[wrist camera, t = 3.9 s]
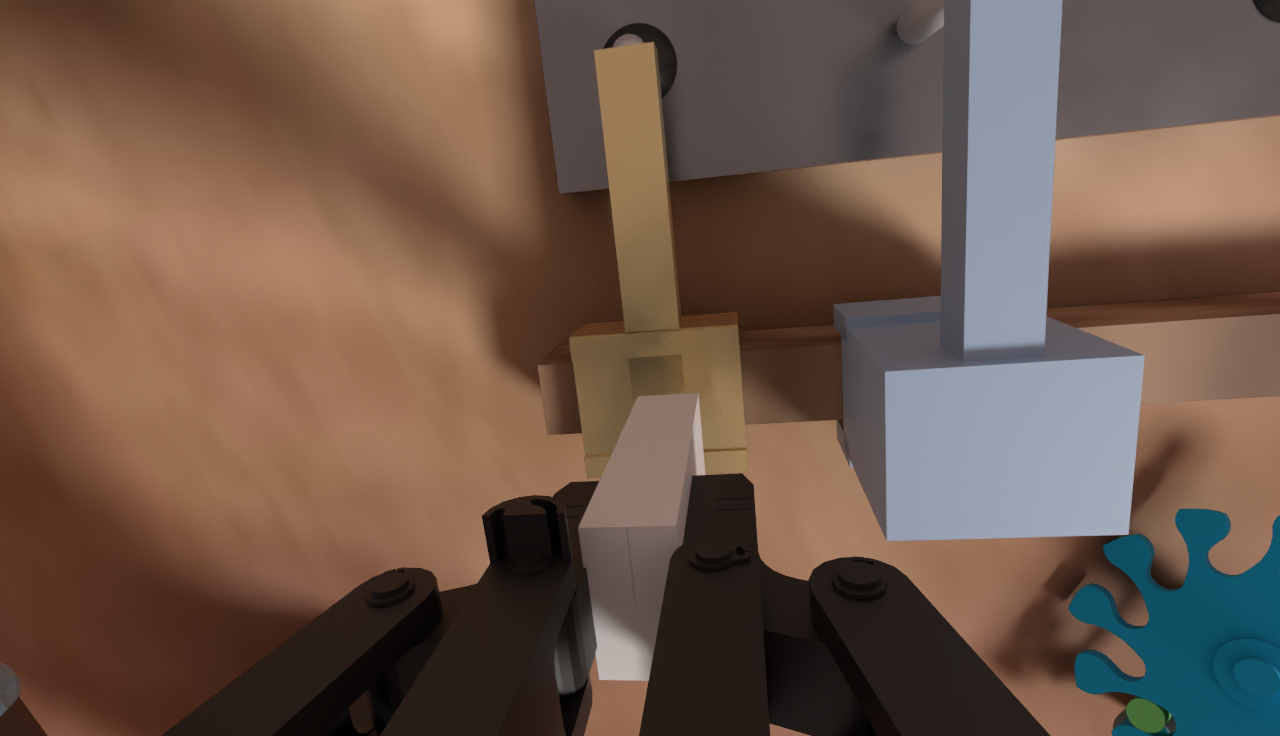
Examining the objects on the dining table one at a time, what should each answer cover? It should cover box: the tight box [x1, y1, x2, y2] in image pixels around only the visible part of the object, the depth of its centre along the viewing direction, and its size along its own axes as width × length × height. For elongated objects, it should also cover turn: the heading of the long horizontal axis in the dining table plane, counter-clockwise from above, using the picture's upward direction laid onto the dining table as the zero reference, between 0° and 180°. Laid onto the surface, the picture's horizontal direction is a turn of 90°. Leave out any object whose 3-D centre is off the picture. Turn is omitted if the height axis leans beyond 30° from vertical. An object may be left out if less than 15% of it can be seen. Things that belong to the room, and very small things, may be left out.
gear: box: [1068, 509, 1280, 736], centre depth 22 cm, size 11×6×10 cm
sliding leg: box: [833, 0, 1145, 541], centre depth 17 cm, size 5×13×7 cm, turn 6°
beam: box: [538, 291, 1280, 435], centre depth 21 cm, size 28×2×3 cm, turn 96°
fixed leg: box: [569, 34, 748, 479], centre depth 20 cm, size 5×13×3 cm, turn 6°
